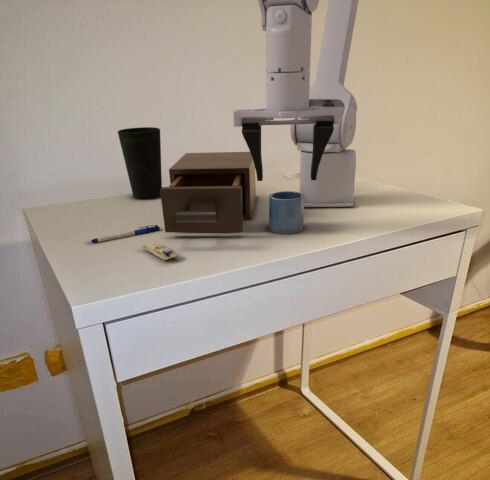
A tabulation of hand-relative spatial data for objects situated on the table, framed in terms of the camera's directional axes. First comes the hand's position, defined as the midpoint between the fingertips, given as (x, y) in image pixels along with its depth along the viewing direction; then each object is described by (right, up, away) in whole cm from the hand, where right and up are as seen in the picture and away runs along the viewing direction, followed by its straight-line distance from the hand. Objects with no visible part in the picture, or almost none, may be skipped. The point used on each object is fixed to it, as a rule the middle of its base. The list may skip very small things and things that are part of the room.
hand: (286, 179), depth 67 cm
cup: (-25, +4, +24) cm, 35 cm away
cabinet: (-11, 0, +15) cm, 19 cm away
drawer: (-12, -5, +4) cm, 14 cm away
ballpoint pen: (-24, -8, +3) cm, 25 cm away
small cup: (0, -6, +4) cm, 7 cm away
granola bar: (-18, -12, -4) cm, 22 cm away
